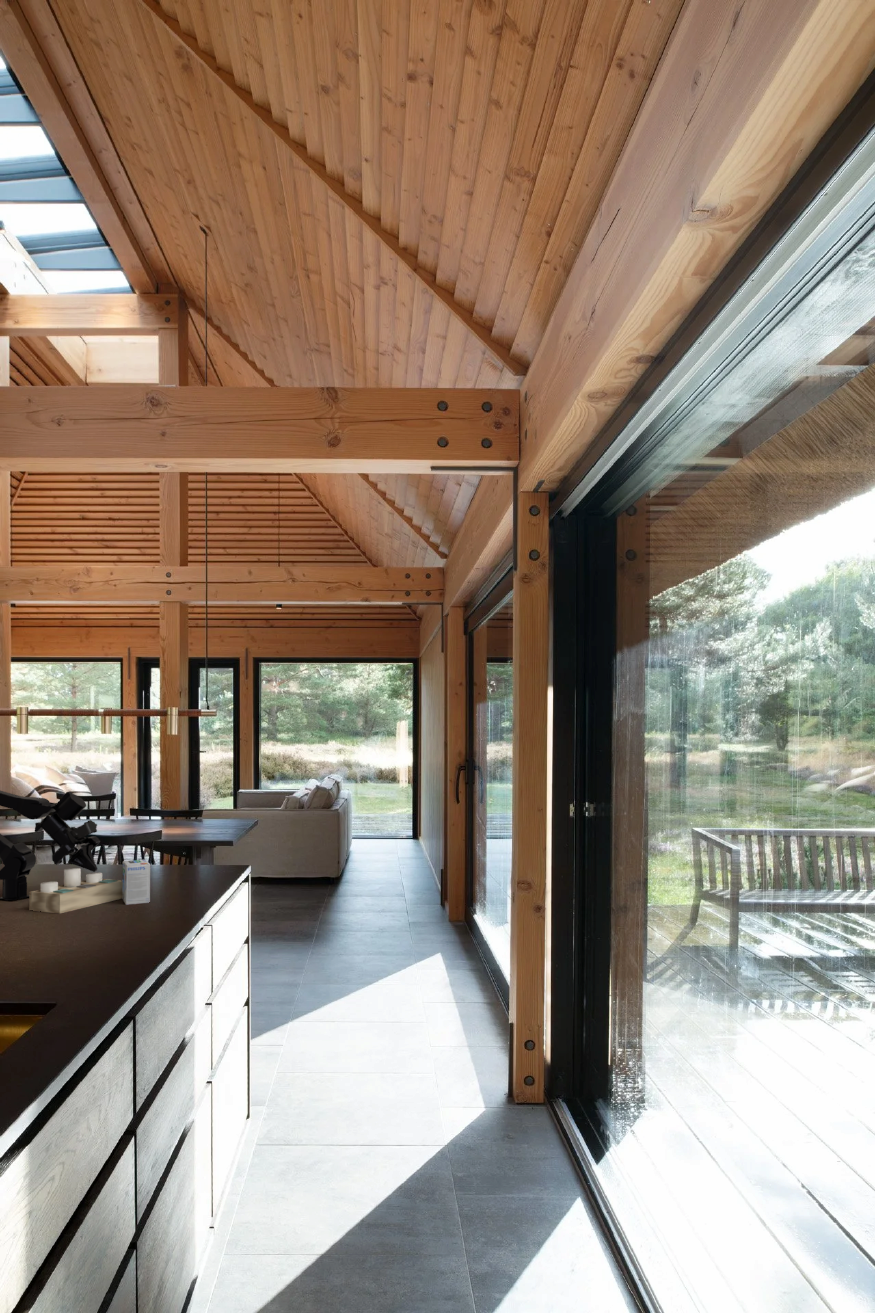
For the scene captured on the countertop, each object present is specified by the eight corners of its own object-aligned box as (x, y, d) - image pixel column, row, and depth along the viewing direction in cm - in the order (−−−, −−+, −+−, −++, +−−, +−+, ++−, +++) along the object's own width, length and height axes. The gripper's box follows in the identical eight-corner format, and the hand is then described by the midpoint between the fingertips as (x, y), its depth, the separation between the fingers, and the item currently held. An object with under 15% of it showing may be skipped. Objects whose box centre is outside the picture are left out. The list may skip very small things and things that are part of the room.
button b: (60, 895, 259) (60, 870, 260) (72, 892, 263) (72, 867, 264) (71, 896, 257) (71, 870, 258) (84, 893, 261) (84, 868, 262)
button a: (36, 909, 252) (36, 883, 253) (49, 906, 256) (50, 881, 256) (48, 911, 250) (48, 884, 251) (61, 908, 254) (61, 882, 255)
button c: (82, 899, 266) (82, 874, 267) (94, 896, 270) (94, 872, 271) (93, 900, 264) (93, 875, 265) (105, 897, 268) (105, 873, 269)
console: (29, 910, 251) (29, 890, 252) (94, 895, 272) (94, 877, 272) (59, 913, 246) (60, 893, 247) (123, 898, 267) (123, 879, 267)
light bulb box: (121, 898, 266) (121, 860, 267) (145, 896, 269) (146, 859, 270) (125, 905, 257) (126, 865, 258) (151, 902, 260) (151, 863, 260)
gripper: (63, 815, 260) (100, 855, 258) (94, 809, 279) (129, 846, 277) (35, 844, 261) (72, 884, 259) (68, 835, 279) (103, 873, 277)
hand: (95, 870), depth 268 cm, fingers closed
